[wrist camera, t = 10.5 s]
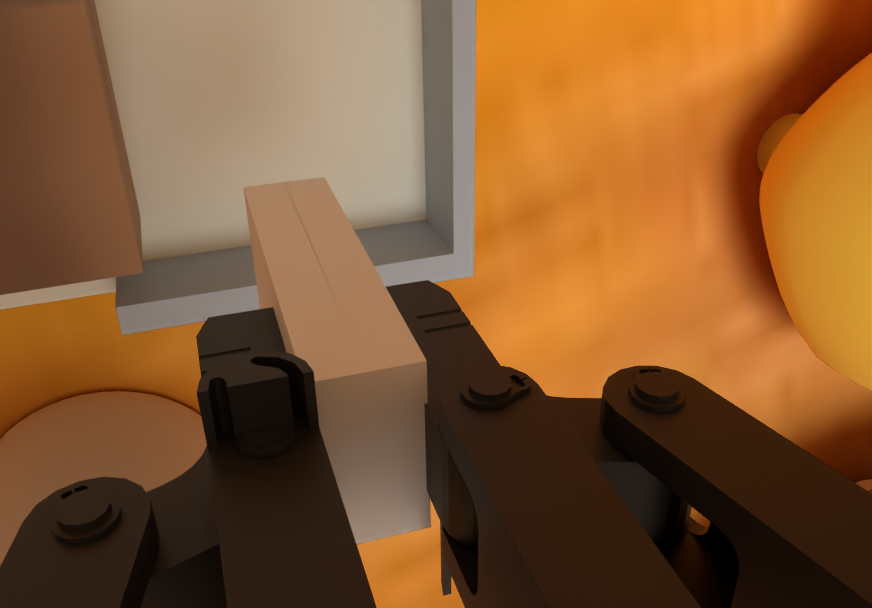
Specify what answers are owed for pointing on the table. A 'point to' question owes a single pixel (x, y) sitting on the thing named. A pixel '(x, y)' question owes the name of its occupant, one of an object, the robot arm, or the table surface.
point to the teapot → (824, 220)
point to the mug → (93, 449)
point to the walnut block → (61, 152)
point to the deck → (286, 139)
